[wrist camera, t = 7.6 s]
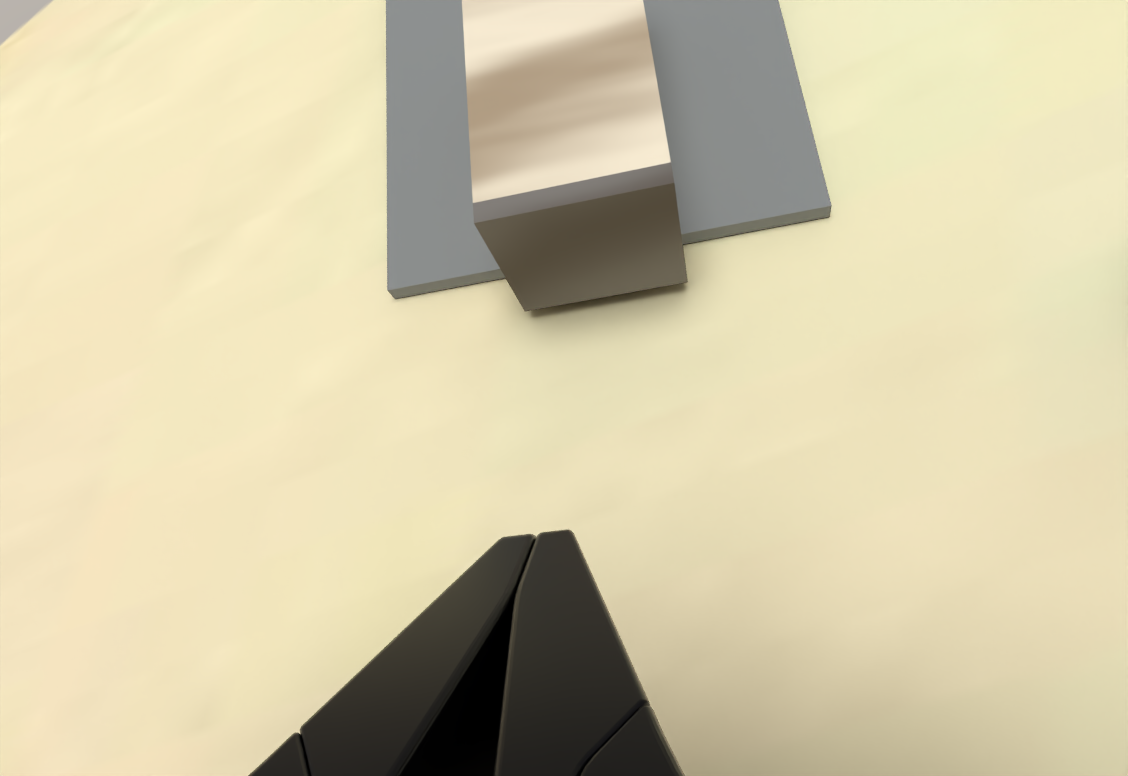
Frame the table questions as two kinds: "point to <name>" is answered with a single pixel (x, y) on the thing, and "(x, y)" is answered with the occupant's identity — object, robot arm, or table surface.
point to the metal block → (569, 149)
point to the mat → (691, 117)
